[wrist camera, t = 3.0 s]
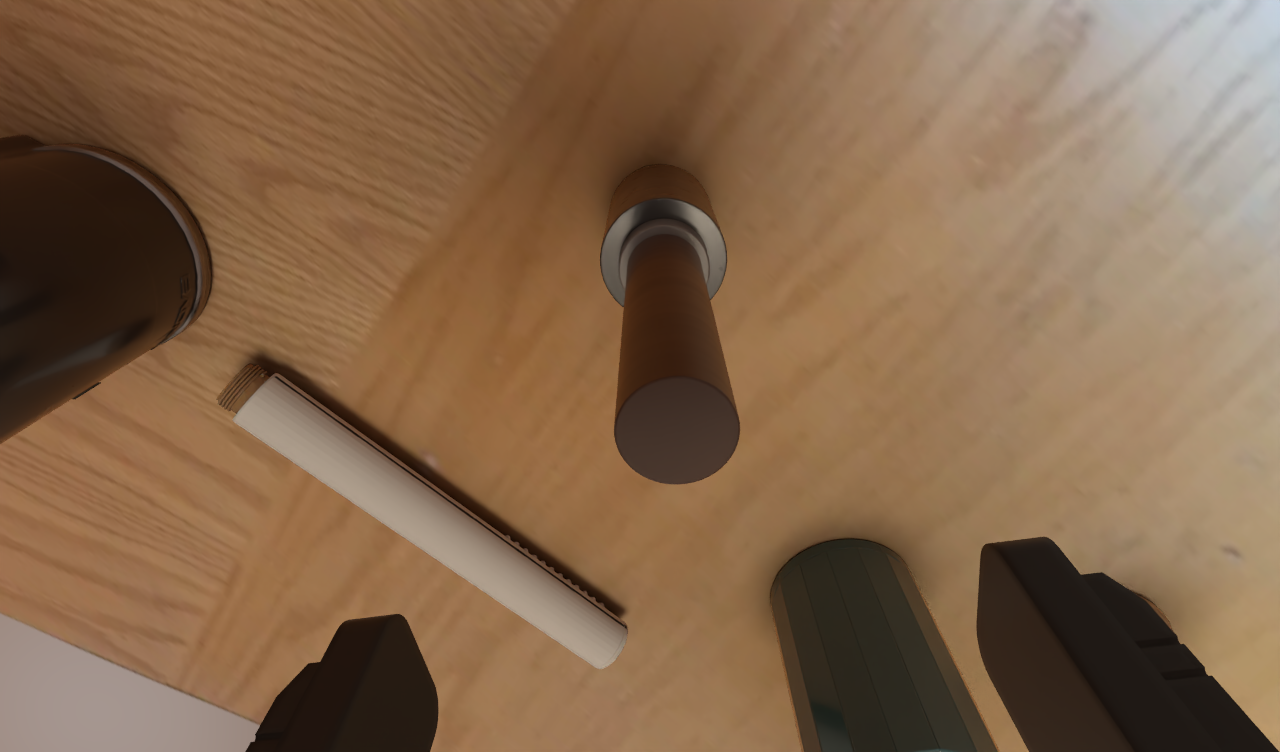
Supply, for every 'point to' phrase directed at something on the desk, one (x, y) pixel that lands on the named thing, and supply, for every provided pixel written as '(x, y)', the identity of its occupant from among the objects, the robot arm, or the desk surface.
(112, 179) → the robot arm
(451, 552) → the tube
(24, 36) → the desk surface
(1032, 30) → the desk surface
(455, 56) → the desk surface
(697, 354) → the brush
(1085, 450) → the desk surface
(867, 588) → the teal pencil cup
